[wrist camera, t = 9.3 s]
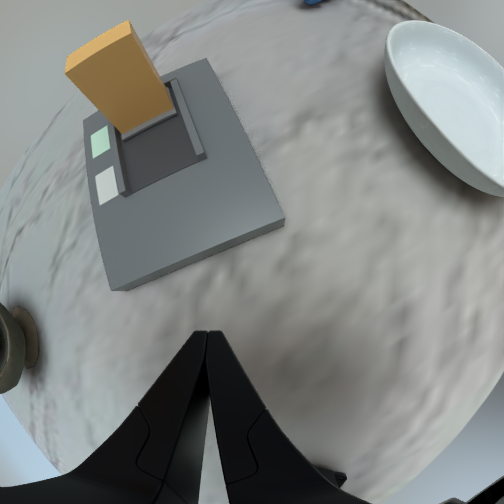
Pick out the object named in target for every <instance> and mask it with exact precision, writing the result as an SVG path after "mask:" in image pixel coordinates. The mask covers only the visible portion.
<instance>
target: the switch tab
mask: <svg viewBox="0 0 504 504" xmlns="http://www.w3.org/2000/svg"><path fill="white" fill-rule="evenodd" d="M65 75H66V76H67V77H68V78H69V79H70V80H71V81H72V82H73V83H74V84H75V85H76V86H77V87H78V88H79V89H80V91H81V92H82V93H83V94H84V95H85V96H86V97H87V98H88V99H89V100H90V101H91V102H92V103H93V104H94V105H95V106H96V107H97V108H98V110H99V111H100V112H101V113H102V114H103V115H104V116H105V117H106V118H107V119H108V120H109V121H110V122H111V123H112V124H113V125H114V126H115V127H116V128H117V129H118V130H119V132H120V133H121V136H122V140H123V141H126V140H127V139H129V138H131V137H133V136H135V135H136V134H138V133H140V132H142V131H144V130H146V129H148V128H150V127H152V126H154V125H156V124H158V123H160V122H162V121H164V120H166V119H168V118H170V117H173V116H175V115H177V112H176V109H175V106H174V103H173V100H172V97H171V94H170V91H169V88H168V87H167V88H166V87H165V85H164V83H163V81H162V79H161V78H160V76H159V74H158V72H157V70H156V68H155V67H154V65H153V63H152V61H151V59H150V57H149V56H148V54H147V52H146V50H145V48H144V47H143V45H142V43H141V41H140V39H139V37H138V36H137V34H136V32H135V30H134V29H133V27H132V25H131V23H130V21H129V20H127V21H125V22H123V23H121V24H119V25H118V26H116V27H114V28H112V29H110V30H108V31H107V32H105V33H103V34H101V35H100V36H98V37H96V38H95V39H93V40H92V41H90V42H88V43H87V44H85V45H84V46H82V47H81V48H79V49H78V50H76V51H75V52H73V53H72V54H70V55H69V56H68V57H67V61H66V68H65Z"/></svg>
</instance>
